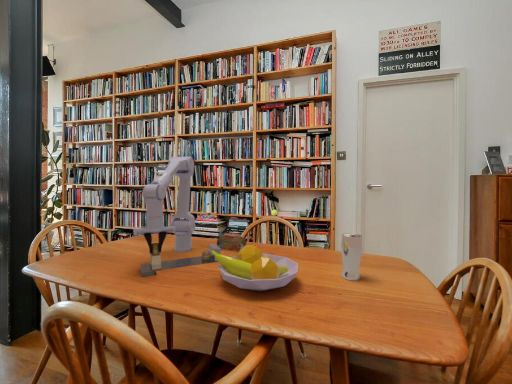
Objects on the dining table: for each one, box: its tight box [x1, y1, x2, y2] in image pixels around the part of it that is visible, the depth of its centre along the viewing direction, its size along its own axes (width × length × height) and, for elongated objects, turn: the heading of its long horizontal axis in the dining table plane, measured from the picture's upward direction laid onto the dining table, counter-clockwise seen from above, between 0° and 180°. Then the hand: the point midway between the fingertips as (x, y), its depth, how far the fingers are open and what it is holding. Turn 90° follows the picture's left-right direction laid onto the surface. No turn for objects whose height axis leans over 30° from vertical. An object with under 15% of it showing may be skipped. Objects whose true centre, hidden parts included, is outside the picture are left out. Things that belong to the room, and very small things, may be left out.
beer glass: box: [340, 232, 363, 281], centre depth 94 cm, size 7×7×15 cm
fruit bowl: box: [211, 244, 299, 292], centre depth 90 cm, size 28×27×11 cm
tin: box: [216, 234, 248, 253], centre depth 123 cm, size 15×3×8 cm, turn 62°
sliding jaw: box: [149, 242, 162, 270], centre depth 100 cm, size 8×3×8 cm, turn 26°
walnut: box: [201, 249, 211, 261], centre depth 109 cm, size 4×4×4 cm
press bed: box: [139, 243, 222, 278], centre depth 105 cm, size 10×30×6 cm, turn 116°
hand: (155, 252), depth 100 cm, fingers closed on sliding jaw, 2 cm apart
